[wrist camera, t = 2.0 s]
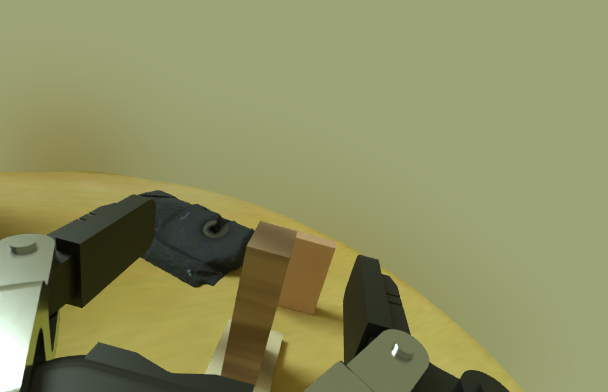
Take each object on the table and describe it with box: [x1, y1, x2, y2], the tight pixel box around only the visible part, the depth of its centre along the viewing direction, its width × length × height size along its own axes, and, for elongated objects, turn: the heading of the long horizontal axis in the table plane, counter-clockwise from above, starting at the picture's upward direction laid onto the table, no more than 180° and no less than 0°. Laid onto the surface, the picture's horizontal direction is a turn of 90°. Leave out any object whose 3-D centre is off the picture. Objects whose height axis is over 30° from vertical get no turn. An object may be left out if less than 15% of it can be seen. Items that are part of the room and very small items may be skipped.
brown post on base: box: [205, 221, 297, 392], centre depth 27 cm, size 9×6×15 cm, turn 173°
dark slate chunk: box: [138, 190, 255, 287], centre depth 46 cm, size 15×22×5 cm
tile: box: [269, 223, 336, 315], centre depth 37 cm, size 2×8×10 cm, turn 83°
